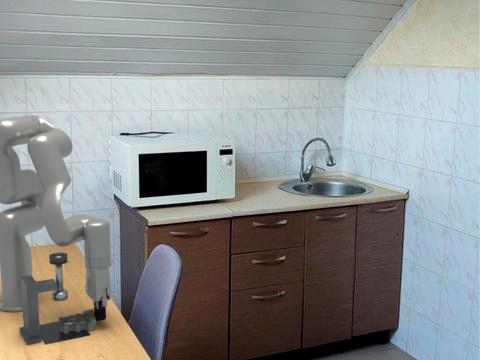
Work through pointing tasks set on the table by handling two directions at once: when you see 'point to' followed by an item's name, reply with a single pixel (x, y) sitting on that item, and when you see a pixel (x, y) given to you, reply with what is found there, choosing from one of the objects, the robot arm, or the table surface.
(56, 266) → the disc
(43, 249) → the table surface
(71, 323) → the egg carton
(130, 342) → the table surface
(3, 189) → the robot arm
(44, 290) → the press frame
